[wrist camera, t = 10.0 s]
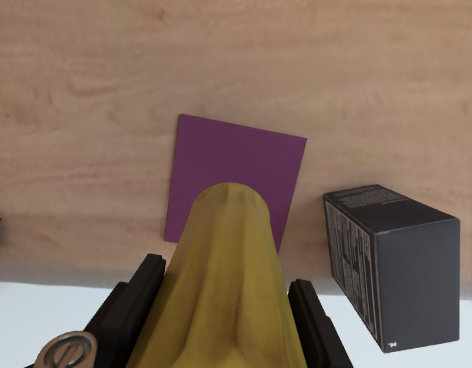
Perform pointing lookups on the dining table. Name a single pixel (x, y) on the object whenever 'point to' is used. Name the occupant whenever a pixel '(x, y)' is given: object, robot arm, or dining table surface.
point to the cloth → (232, 168)
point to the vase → (222, 292)
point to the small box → (396, 265)
